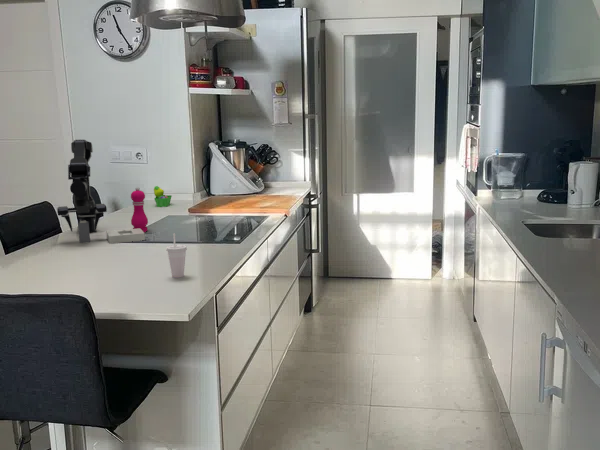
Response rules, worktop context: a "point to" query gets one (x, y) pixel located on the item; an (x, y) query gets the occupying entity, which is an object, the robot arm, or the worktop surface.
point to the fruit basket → (161, 197)
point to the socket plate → (125, 235)
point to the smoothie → (177, 259)
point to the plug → (83, 231)
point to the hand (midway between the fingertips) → (83, 230)
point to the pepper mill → (139, 210)
